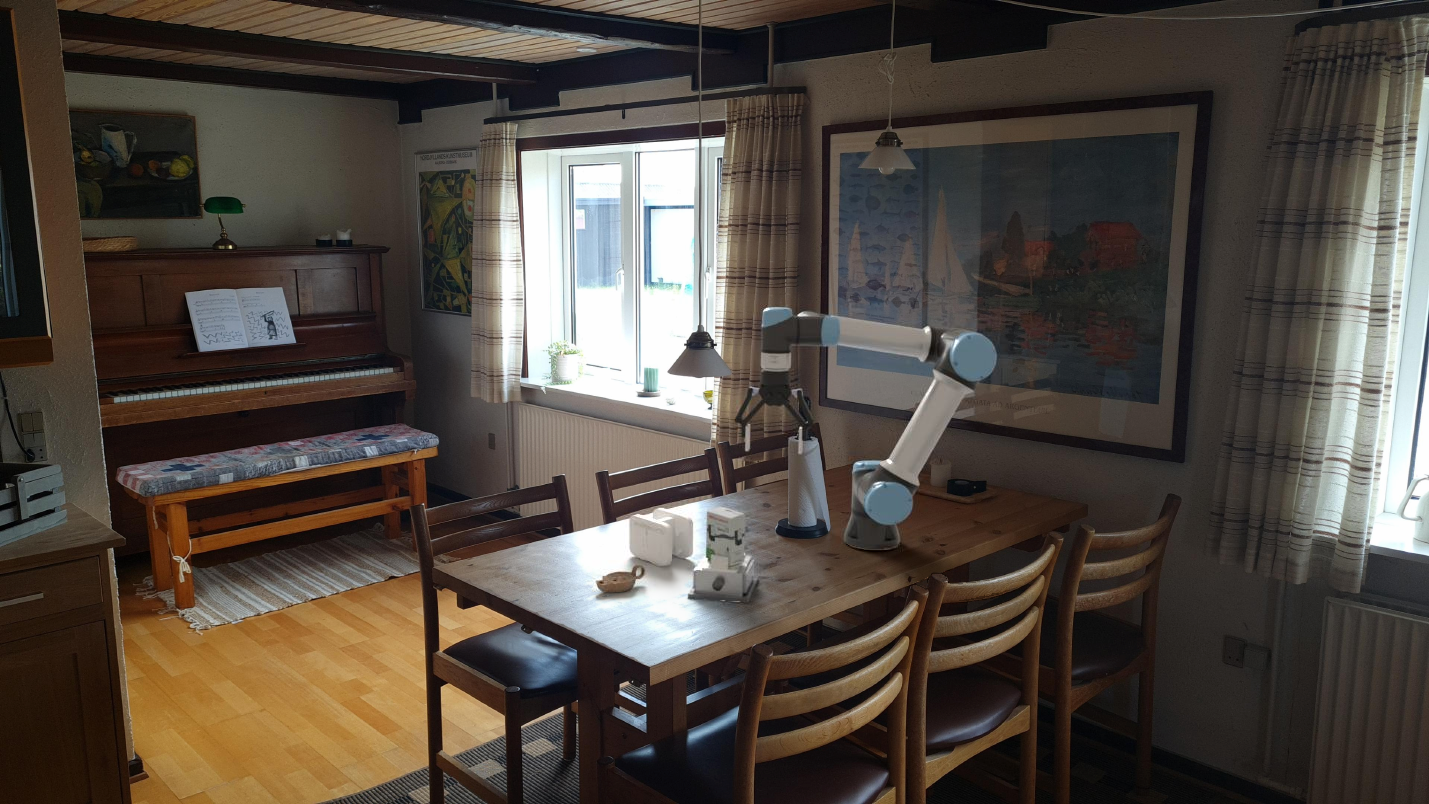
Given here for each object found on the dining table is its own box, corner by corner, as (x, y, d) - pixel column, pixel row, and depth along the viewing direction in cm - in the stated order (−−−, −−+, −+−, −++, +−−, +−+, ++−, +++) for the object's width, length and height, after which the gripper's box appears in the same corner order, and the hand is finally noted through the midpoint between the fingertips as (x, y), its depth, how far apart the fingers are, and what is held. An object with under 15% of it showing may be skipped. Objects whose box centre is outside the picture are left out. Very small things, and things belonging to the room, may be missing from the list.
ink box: (704, 558, 234) (705, 509, 232) (719, 553, 238) (720, 506, 236) (730, 567, 228) (731, 517, 226) (745, 562, 232) (746, 513, 230)
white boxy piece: (758, 579, 241) (759, 540, 239) (747, 604, 225) (747, 561, 223) (702, 575, 243) (702, 535, 242) (687, 598, 227) (687, 557, 226)
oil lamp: (603, 599, 227) (603, 578, 226) (589, 589, 233) (588, 569, 232) (652, 588, 234) (652, 568, 233) (637, 579, 240) (637, 559, 239)
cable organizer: (695, 561, 254) (696, 517, 252) (665, 570, 246) (665, 526, 245) (657, 547, 264) (657, 506, 262) (627, 556, 257) (626, 513, 255)
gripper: (724, 369, 246) (723, 451, 250) (824, 373, 241) (821, 457, 245) (729, 365, 253) (728, 445, 257) (826, 369, 249) (824, 451, 252)
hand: (773, 451), depth 251 cm, fingers open, 13 cm apart
